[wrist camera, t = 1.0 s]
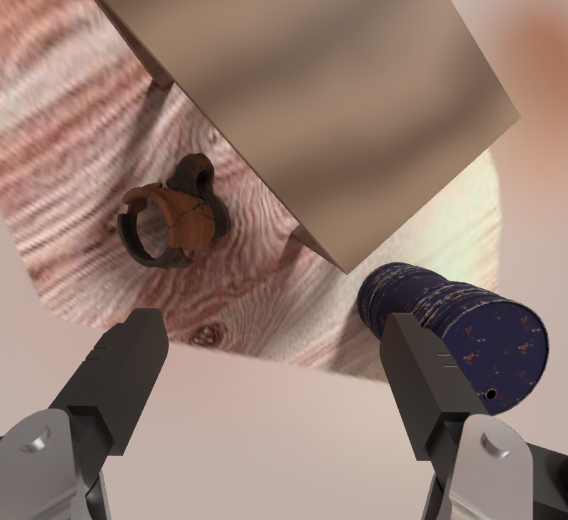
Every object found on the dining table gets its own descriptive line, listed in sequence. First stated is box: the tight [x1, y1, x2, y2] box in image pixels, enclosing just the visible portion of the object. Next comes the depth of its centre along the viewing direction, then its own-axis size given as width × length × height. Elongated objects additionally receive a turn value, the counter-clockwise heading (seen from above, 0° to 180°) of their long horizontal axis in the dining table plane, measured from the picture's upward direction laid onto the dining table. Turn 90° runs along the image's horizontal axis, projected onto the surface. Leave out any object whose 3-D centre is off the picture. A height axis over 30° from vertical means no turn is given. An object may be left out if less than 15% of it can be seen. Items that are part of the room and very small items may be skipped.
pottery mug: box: [117, 153, 231, 269], centre depth 29 cm, size 12×10×8 cm
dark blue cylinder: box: [358, 262, 549, 416], centre depth 29 cm, size 10×10×15 cm
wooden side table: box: [95, 0, 521, 275], centre depth 23 cm, size 23×14×16 cm, turn 43°
